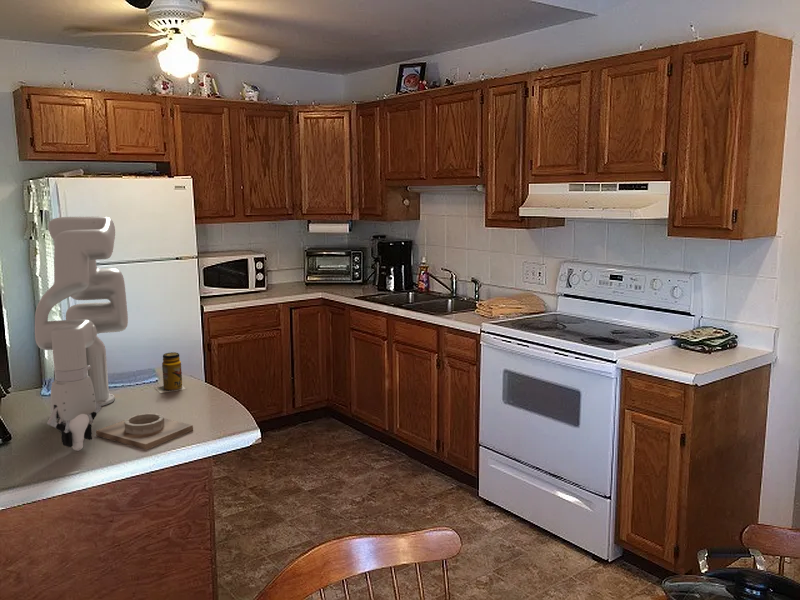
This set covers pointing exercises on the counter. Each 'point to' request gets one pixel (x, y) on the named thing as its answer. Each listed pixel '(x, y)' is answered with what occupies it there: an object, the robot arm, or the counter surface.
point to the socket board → (145, 438)
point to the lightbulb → (78, 430)
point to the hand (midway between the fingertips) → (77, 441)
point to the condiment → (171, 373)
